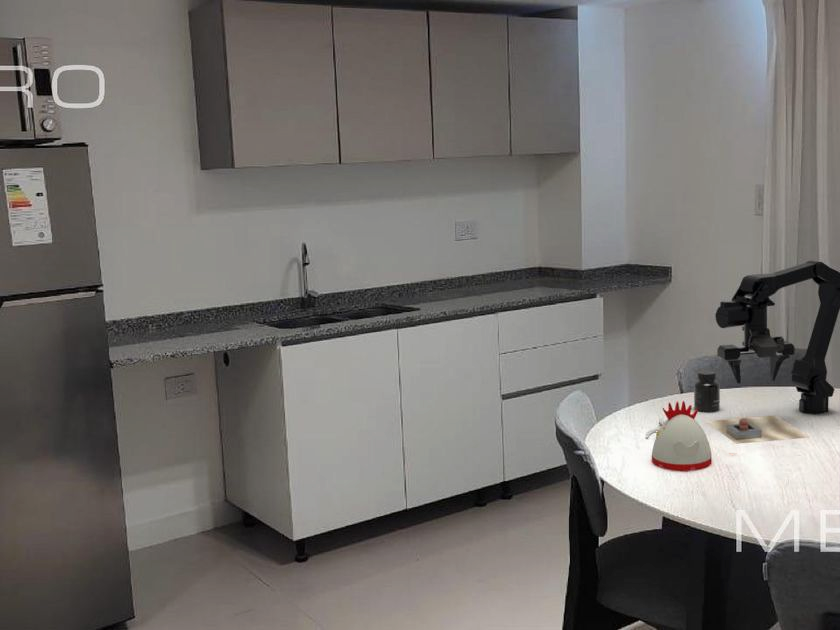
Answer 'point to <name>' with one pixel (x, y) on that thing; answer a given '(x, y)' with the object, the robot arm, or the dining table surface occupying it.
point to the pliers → (654, 429)
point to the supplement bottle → (707, 392)
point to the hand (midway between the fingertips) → (755, 382)
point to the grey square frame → (744, 431)
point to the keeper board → (769, 425)
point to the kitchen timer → (681, 442)
